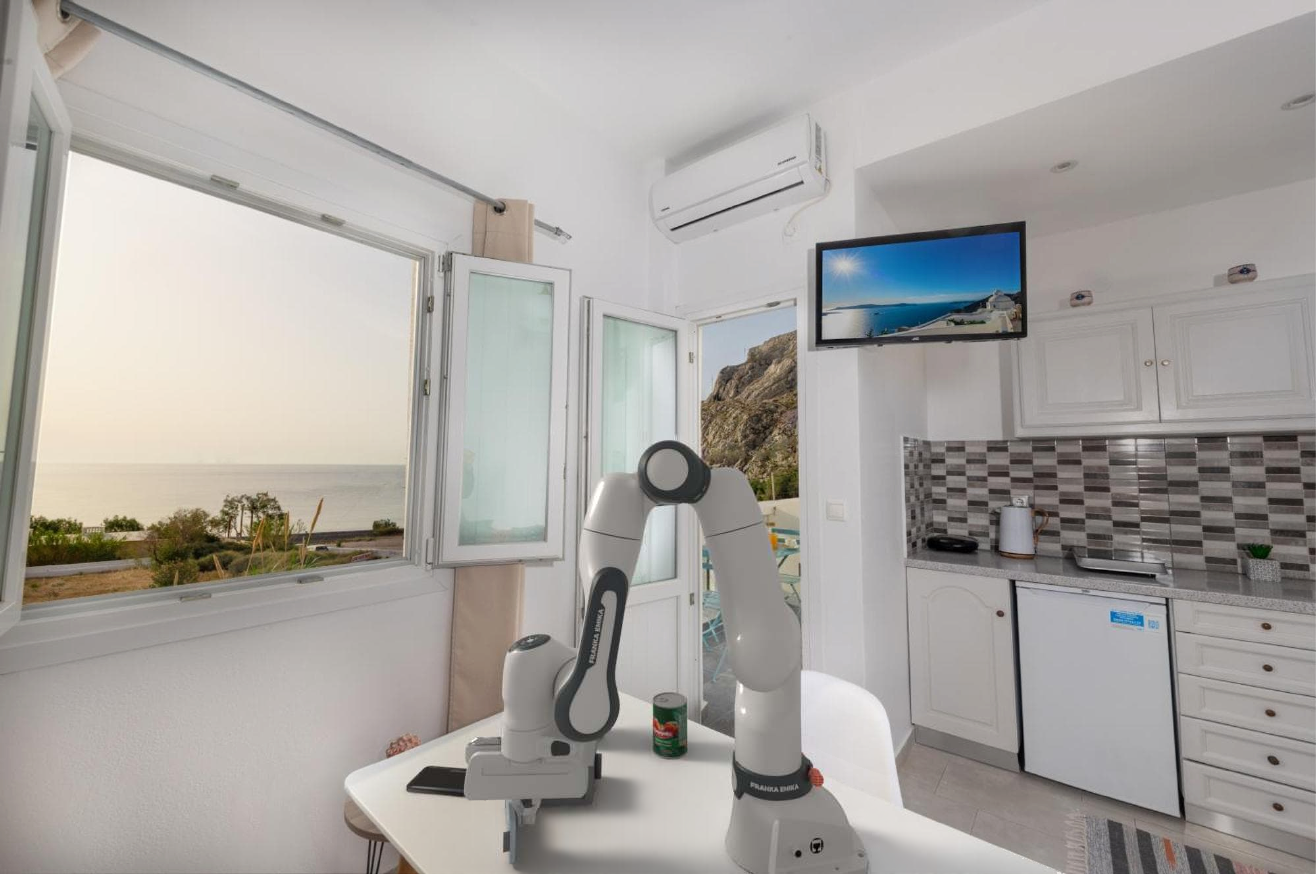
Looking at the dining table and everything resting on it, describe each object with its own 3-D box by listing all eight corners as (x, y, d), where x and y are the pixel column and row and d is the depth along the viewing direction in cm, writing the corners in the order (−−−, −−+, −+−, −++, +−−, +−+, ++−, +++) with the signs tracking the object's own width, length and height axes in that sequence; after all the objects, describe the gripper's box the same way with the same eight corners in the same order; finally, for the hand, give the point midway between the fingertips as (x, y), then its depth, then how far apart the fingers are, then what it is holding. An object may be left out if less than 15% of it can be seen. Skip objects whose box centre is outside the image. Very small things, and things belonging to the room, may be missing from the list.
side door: (515, 862, 80) (516, 822, 81) (502, 865, 80) (503, 825, 80) (510, 805, 94) (511, 771, 95) (499, 807, 94) (500, 773, 94)
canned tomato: (688, 741, 118) (688, 692, 119) (687, 760, 111) (687, 707, 111) (654, 740, 119) (654, 691, 120) (650, 758, 111) (650, 706, 112)
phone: (476, 794, 97) (403, 787, 99) (476, 800, 97) (403, 793, 99) (494, 770, 105) (427, 764, 107) (494, 776, 105) (426, 770, 107)
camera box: (601, 774, 105) (602, 739, 106) (599, 804, 95) (599, 765, 96) (517, 777, 104) (518, 741, 105) (506, 808, 94) (507, 768, 95)
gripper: (459, 747, 82) (456, 838, 81) (586, 745, 83) (585, 834, 82) (471, 728, 89) (469, 812, 88) (589, 726, 90) (589, 809, 89)
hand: (526, 822), depth 85 cm, fingers closed
